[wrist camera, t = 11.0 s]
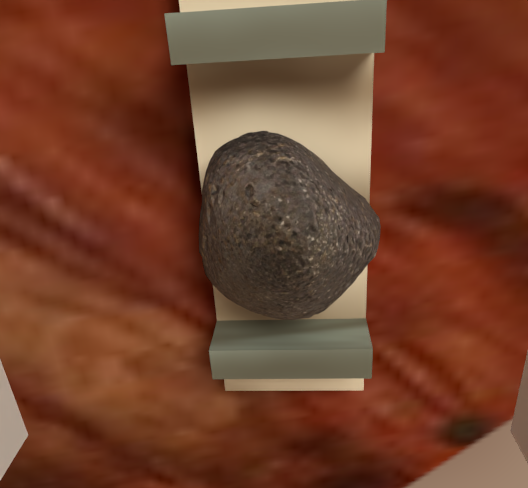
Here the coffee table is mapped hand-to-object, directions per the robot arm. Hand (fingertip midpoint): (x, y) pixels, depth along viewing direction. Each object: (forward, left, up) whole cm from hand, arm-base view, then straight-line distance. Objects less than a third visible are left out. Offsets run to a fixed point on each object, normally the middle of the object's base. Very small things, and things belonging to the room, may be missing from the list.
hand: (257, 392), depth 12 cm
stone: (+1, 0, -15) cm, 15 cm away
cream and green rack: (0, 0, -18) cm, 18 cm away
